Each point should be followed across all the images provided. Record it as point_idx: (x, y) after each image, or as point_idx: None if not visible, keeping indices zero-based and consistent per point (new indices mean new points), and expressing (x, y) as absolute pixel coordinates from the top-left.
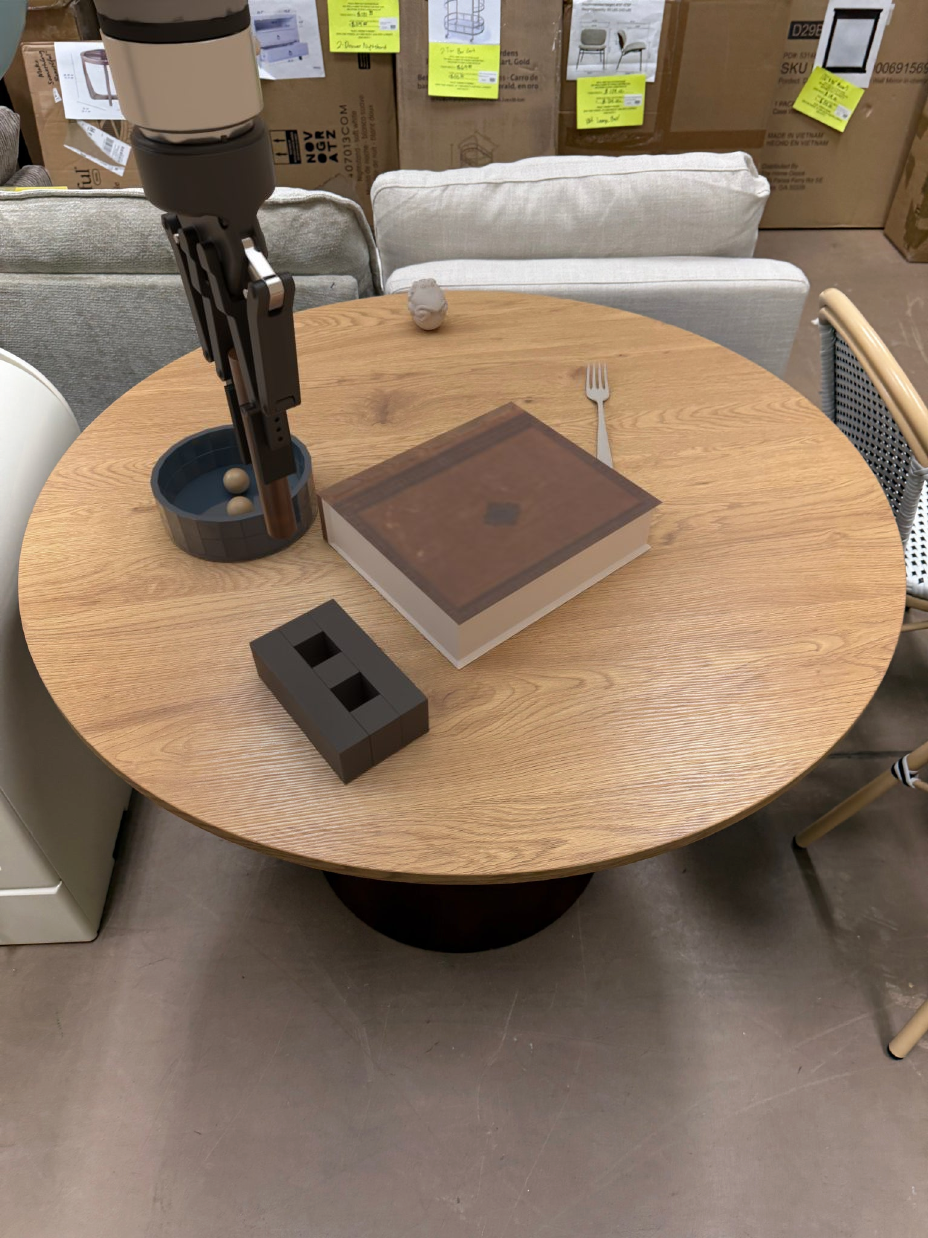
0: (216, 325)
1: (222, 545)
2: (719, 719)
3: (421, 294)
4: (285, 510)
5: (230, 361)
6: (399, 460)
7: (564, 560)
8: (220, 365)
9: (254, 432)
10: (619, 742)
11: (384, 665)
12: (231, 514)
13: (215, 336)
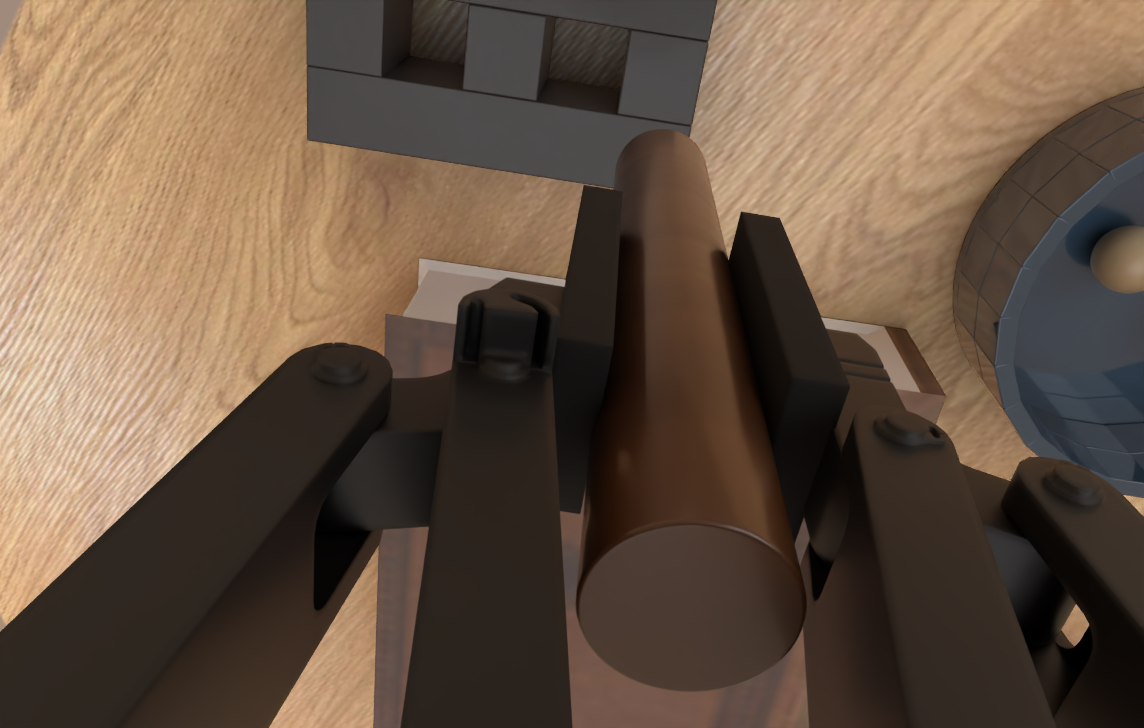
0: (893, 693)
1: (1075, 145)
2: (68, 452)
3: None
4: None
5: (713, 506)
6: None
7: (381, 555)
8: (883, 466)
9: (566, 283)
10: (120, 322)
11: (438, 139)
12: (1135, 232)
13: (909, 610)
